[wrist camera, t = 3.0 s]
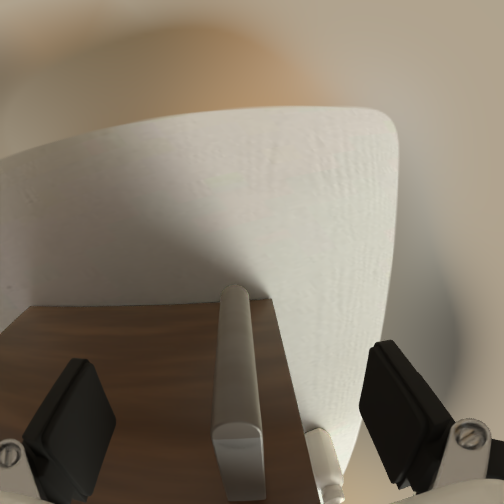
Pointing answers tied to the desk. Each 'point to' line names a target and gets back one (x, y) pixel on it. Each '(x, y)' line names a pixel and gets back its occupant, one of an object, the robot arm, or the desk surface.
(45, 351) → the door
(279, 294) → the desk surface
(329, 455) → the eye dropper bottle
